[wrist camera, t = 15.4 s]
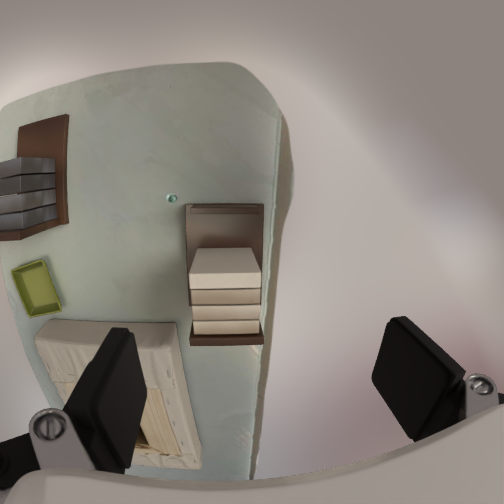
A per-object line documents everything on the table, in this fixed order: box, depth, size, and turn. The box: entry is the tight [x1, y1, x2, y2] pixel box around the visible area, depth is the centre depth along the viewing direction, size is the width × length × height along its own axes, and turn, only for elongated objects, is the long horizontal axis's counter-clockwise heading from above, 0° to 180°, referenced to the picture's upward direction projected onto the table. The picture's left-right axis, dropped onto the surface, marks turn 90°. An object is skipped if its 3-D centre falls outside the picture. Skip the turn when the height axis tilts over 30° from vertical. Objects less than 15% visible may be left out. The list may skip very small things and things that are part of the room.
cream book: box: [189, 248, 261, 289], centre depth 32 cm, size 2×7×10 cm, turn 89°
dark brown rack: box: [185, 203, 264, 346], centre depth 33 cm, size 14×10×11 cm
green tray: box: [11, 260, 62, 318], centre depth 35 cm, size 9×9×2 cm
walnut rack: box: [0, 114, 69, 241], centre depth 26 cm, size 16×10×11 cm, turn 179°
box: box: [35, 319, 202, 470], centre depth 39 cm, size 23×8×32 cm
